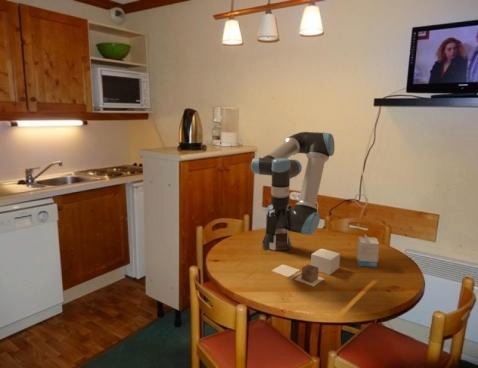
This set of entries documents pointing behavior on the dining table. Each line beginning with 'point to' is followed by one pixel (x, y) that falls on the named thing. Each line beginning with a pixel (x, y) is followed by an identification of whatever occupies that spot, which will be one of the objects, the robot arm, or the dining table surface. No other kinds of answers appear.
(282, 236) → the box
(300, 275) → the board
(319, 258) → the block
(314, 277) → the block
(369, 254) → the ink box
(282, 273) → the pad
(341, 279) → the dining table surface
